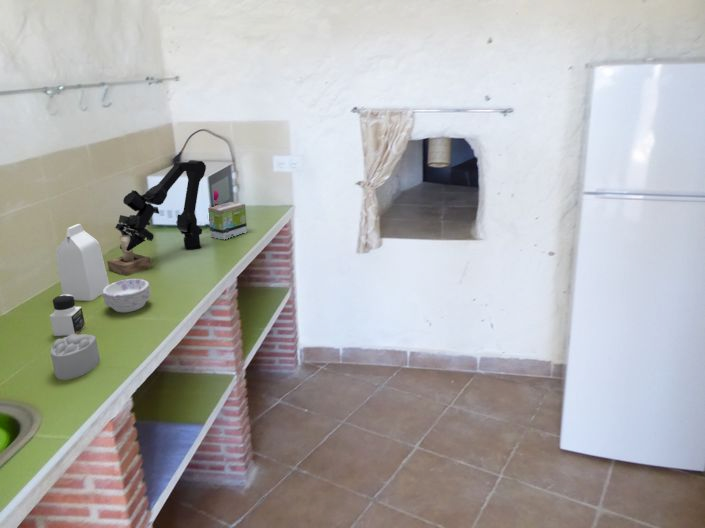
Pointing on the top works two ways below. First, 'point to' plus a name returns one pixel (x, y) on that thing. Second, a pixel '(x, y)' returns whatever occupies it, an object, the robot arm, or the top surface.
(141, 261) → the brown rectangular frame
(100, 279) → the milk
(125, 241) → the peg
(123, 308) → the white patterned bowl
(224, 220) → the tea box
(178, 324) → the top surface
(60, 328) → the medicine bottle
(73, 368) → the lumpy-topped squat cylinder
